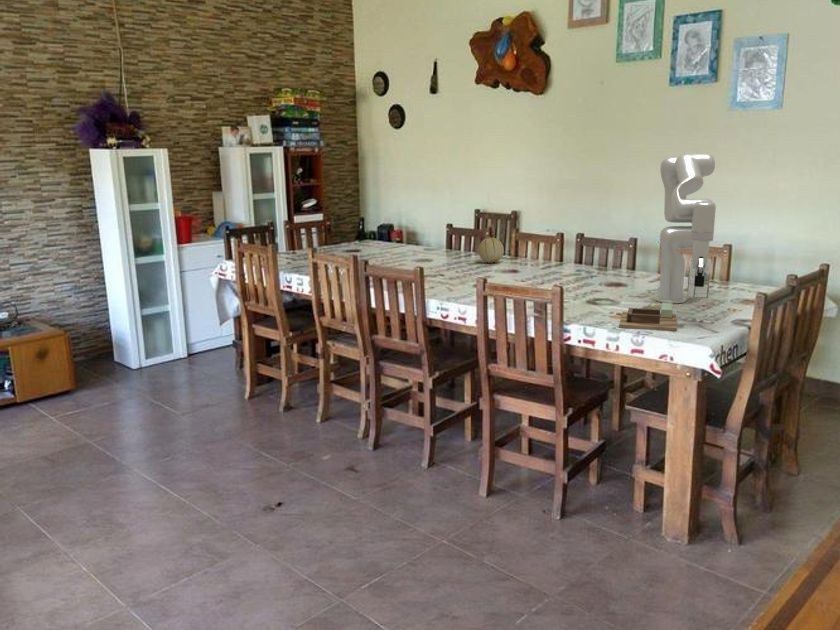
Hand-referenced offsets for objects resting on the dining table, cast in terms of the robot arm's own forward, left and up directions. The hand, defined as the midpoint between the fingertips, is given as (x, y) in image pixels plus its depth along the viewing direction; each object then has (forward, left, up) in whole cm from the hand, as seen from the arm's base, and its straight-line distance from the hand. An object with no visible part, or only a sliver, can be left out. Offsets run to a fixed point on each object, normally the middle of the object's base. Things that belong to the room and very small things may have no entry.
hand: (698, 283), depth 267 cm
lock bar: (-7, -10, -14) cm, 19 cm away
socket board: (+2, -17, -15) cm, 23 cm away
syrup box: (0, 0, -5) cm, 5 cm away
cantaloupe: (-121, -106, -15) cm, 162 cm away
